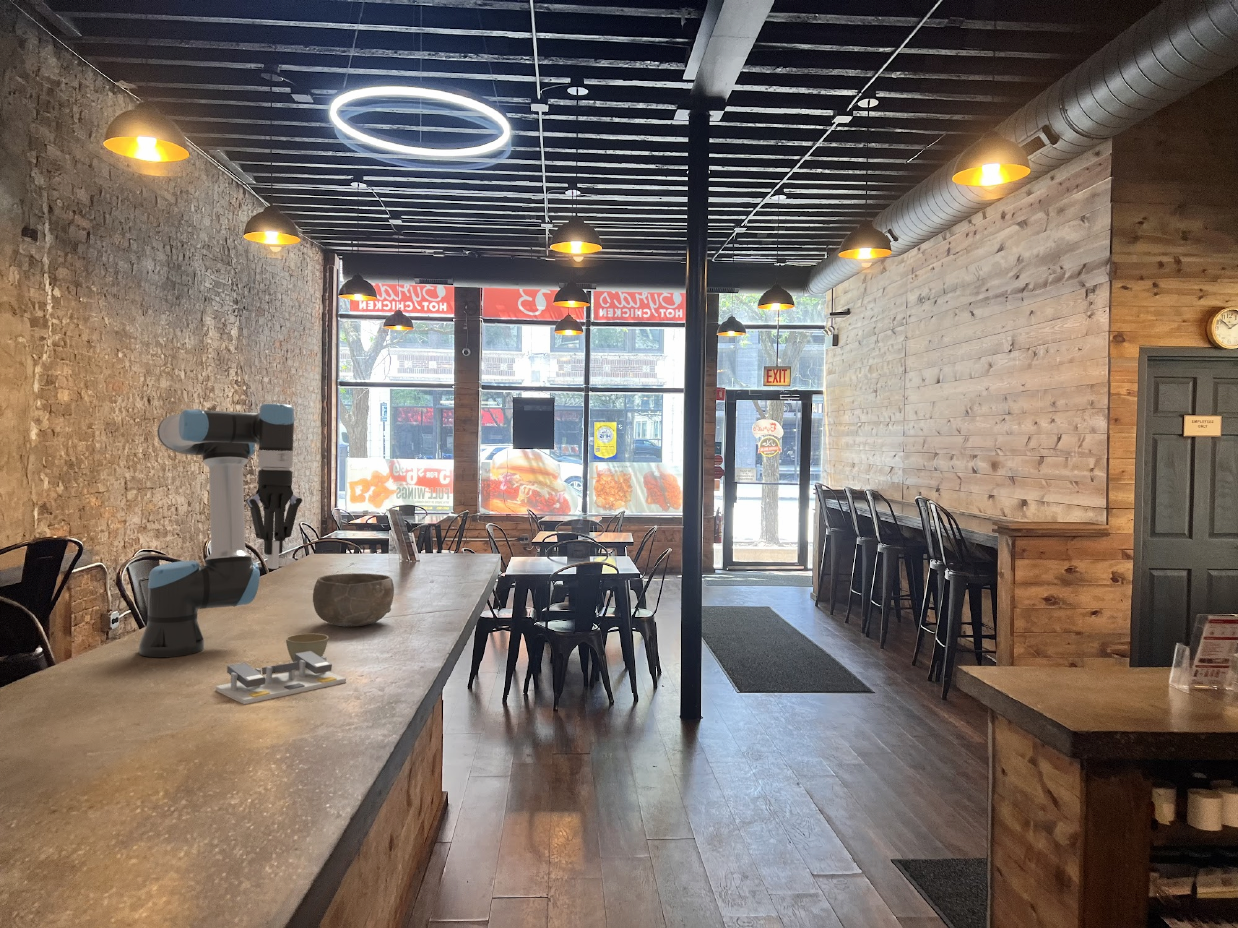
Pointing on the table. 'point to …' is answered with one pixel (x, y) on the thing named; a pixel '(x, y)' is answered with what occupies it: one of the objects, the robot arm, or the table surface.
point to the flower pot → (306, 644)
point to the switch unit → (279, 684)
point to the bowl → (353, 598)
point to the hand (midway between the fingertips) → (272, 567)
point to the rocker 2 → (283, 667)
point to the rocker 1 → (246, 674)
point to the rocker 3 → (313, 662)
